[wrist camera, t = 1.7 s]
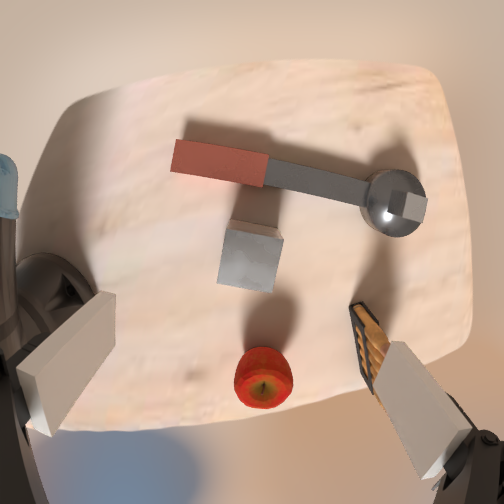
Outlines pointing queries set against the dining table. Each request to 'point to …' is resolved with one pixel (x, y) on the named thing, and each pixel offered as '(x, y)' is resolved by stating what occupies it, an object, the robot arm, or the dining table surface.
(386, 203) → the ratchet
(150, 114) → the dining table surface
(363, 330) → the ammunition clip
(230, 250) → the brushed steel cube
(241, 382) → the apple
